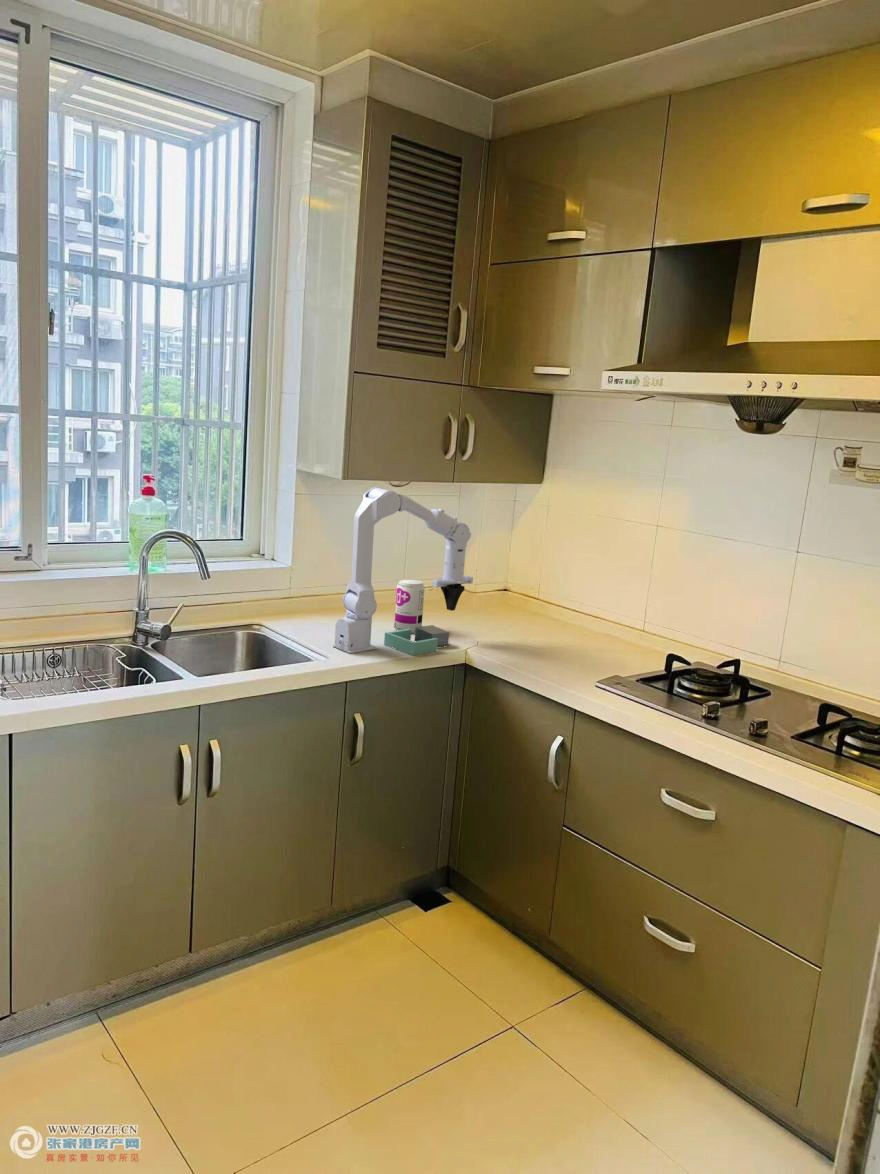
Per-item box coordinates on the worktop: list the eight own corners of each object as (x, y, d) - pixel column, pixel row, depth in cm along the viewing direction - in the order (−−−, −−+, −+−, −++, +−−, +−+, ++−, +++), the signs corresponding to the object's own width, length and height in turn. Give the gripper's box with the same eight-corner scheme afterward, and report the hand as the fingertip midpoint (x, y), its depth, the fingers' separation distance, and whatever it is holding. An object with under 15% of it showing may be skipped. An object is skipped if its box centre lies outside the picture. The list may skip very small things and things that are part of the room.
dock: (412, 655, 238) (413, 643, 237) (384, 644, 246) (384, 632, 245) (436, 651, 244) (437, 638, 243) (408, 640, 252) (408, 628, 252)
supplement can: (405, 635, 258) (408, 585, 255) (388, 628, 264) (391, 579, 261) (426, 632, 263) (430, 583, 260) (410, 625, 269) (413, 577, 266)
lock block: (430, 649, 246) (432, 634, 245) (414, 642, 252) (415, 627, 251) (448, 647, 249) (449, 632, 248) (431, 640, 256) (432, 625, 255)
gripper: (446, 567, 243) (442, 615, 246) (482, 564, 253) (478, 610, 256) (428, 563, 248) (425, 610, 251) (464, 559, 258) (460, 604, 261)
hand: (450, 609), depth 253 cm, fingers closed
